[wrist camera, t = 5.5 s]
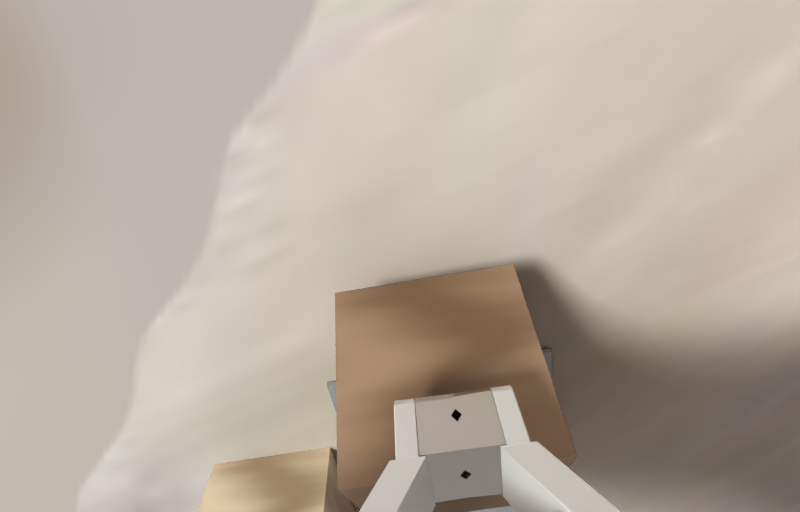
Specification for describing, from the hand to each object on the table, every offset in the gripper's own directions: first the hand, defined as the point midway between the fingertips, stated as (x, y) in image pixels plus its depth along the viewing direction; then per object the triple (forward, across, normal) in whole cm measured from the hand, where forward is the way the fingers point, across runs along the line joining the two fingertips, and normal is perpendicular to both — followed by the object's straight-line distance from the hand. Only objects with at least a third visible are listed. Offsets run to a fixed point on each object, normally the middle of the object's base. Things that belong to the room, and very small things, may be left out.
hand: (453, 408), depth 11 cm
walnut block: (+6, 0, +2) cm, 6 cm away
